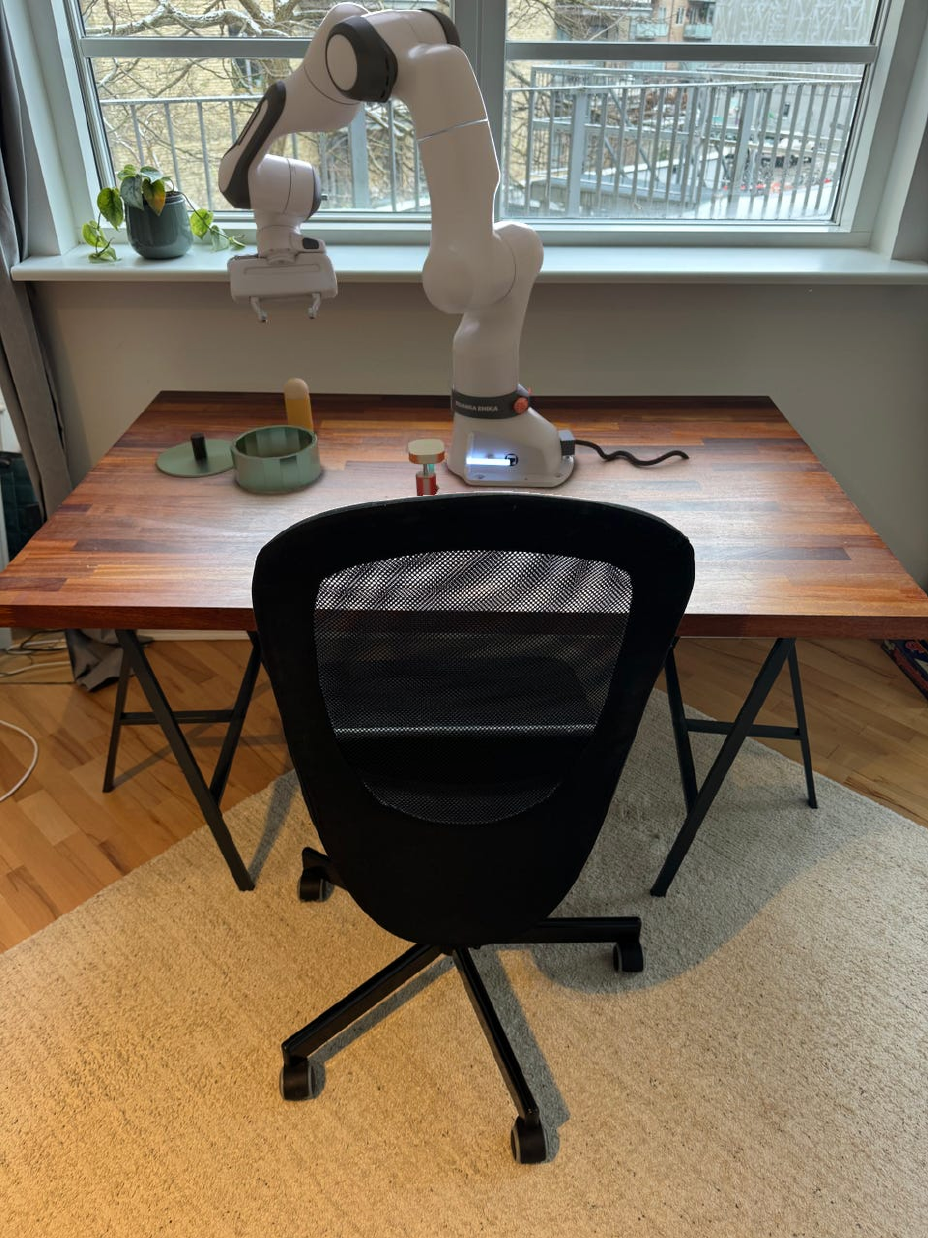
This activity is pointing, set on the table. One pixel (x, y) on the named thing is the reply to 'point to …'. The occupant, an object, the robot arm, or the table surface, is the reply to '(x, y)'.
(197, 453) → the lid
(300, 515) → the table surface
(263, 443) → the pot
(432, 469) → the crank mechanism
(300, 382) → the toy
